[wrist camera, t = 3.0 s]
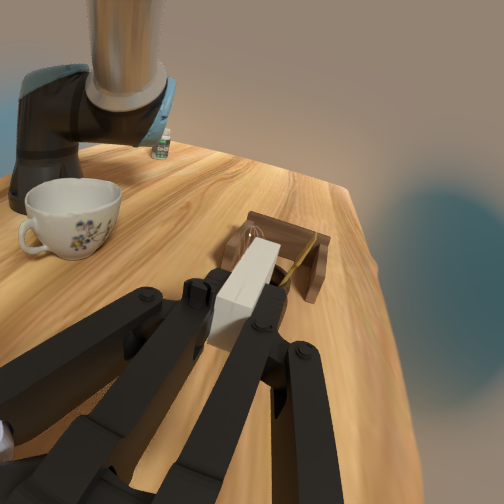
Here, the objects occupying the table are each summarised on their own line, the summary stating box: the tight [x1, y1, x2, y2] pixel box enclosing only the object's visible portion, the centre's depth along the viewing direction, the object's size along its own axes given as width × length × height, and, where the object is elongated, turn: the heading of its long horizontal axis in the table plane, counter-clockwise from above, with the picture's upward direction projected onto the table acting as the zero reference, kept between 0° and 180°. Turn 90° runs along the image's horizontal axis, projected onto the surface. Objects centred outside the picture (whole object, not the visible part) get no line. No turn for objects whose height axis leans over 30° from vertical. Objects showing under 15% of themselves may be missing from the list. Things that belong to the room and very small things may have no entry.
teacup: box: [18, 178, 121, 260], centre depth 33 cm, size 15×12×8 cm
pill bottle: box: [151, 128, 171, 160], centre depth 80 cm, size 5×5×8 cm
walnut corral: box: [221, 211, 331, 304], centre depth 42 cm, size 11×12×5 cm
